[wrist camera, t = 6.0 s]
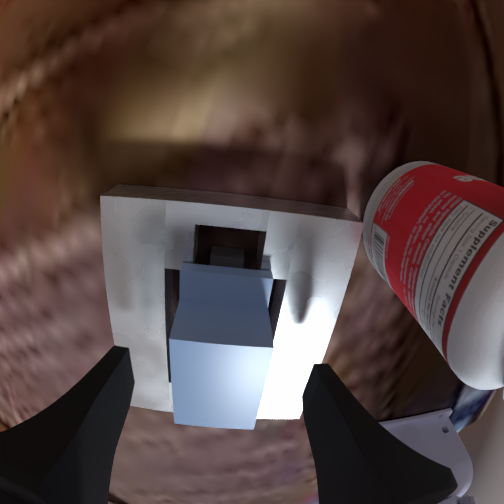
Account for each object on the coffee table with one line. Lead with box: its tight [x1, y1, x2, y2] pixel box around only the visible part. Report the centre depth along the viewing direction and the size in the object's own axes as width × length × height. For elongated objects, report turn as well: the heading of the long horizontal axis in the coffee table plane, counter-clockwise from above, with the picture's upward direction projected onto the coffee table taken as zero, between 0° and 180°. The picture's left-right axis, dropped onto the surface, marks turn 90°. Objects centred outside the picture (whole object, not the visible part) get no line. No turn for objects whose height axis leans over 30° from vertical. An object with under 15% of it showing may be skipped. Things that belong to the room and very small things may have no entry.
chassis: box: [100, 184, 364, 419], centre depth 14 cm, size 10×12×2 cm
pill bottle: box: [362, 161, 504, 399], centre depth 8 cm, size 6×6×11 cm
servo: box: [169, 246, 274, 429], centre depth 13 cm, size 8×3×5 cm, turn 172°
